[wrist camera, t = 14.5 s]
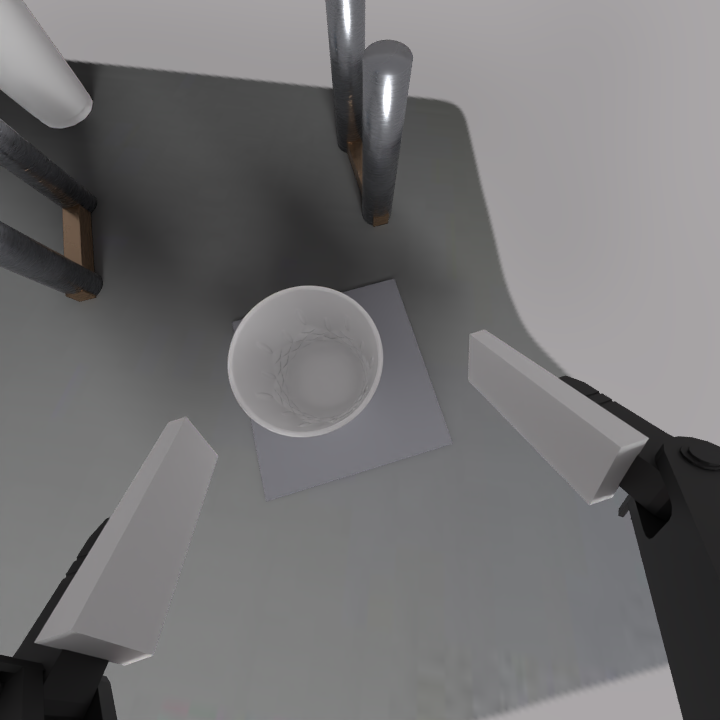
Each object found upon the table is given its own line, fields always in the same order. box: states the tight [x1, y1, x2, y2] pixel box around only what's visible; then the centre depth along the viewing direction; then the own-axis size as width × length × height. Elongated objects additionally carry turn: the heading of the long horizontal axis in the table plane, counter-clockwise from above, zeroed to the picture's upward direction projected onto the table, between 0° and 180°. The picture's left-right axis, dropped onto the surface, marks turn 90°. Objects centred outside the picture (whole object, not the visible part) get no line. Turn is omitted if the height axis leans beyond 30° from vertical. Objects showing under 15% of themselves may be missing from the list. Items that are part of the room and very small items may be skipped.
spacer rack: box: [0, 0, 413, 302], centre depth 21 cm, size 33×13×12 cm, turn 106°
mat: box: [232, 279, 453, 502], centre depth 23 cm, size 16×16×1 cm
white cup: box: [228, 286, 383, 437], centre depth 18 cm, size 8×8×10 cm
